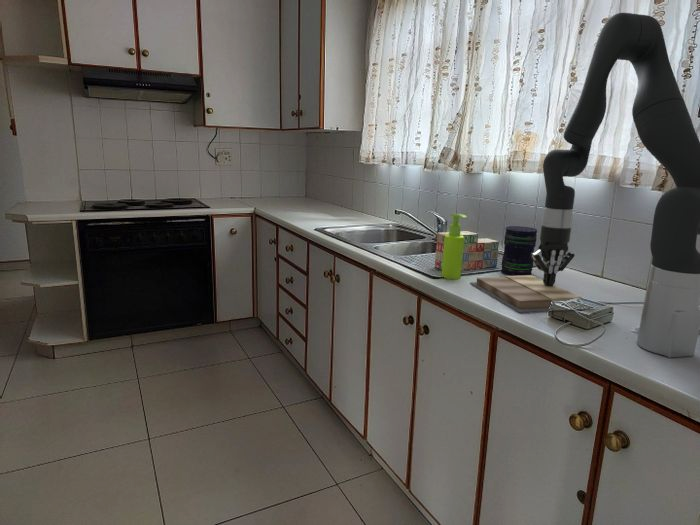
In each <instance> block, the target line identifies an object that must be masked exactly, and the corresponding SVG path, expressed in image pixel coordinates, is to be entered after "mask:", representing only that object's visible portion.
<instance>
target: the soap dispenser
mask: <svg viewBox="0 0 700 525" xmlns="http://www.w3.org/2000/svg"><path fill="white" fill-rule="evenodd" d="M450 217H452V222H451V223H450V224H449V230H448V232H449V234H448V235H445V239H444V251H443V264H442V270H441V278H443V277H444V279H447V280H460V279H461V275H462V270H461V266H462V255H463V244H464V236H461V235H460V231H462V230H461V229H462V225H461V224H460V223H459V220H460V219H467V218H468V216H467V215H466V214H463V213H462V214H461V213H451V214H450Z"/></svg>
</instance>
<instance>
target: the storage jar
mask: <svg viewBox="0 0 700 525" xmlns="http://www.w3.org/2000/svg"><path fill="white" fill-rule="evenodd" d="M537 233H538V229H537V228H534V227H528V226H519V225H517V226H516V225H510V226H506V227H505V233H504V241H503V242H504V243H503V244H504V250H503V255H502V258H501V270H500V272H501V274H503V275H505V276H523V275H532V274H533V273H532V271H533V268H534V261H533V259H532V258H531V256H530V254H531V253H535V248H536V246H537V244H536V243H537ZM532 276H533V275H532Z"/></svg>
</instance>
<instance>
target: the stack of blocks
mask: <svg viewBox="0 0 700 525" xmlns="http://www.w3.org/2000/svg"><path fill="white" fill-rule="evenodd" d="M448 234H449V231H445V232H443V231H442V232H441V231H440V232H437V233H436V243H435V259H434V260H435V261H434V268H435V267H436V269H438V268H439V269H438V270H440V269H441V270H440V271H442V264H443V251H444V239H445V235H448ZM460 235H461V236H464V244H463V255H462V266H461V271H465V270H464V269H470V270H474V269H473V268H481V269H485V268H484V267H493V268H497V267H498V266H497V264H498V259H499V258H498V256H499V245H500V244H499V243H500V241H498V240H494V239H491V238H479V233H476V232H472V231H467V230H461V231H460Z"/></svg>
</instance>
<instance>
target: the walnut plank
mask: <svg viewBox="0 0 700 525" xmlns="http://www.w3.org/2000/svg"><path fill="white" fill-rule="evenodd" d="M476 282H477V283H476V284H477V285H479V286H480V287H482V288H484V289H486V290H487V291H489V292H491V293H492V294H494V295H496V296H498V297H499V298H501V299H503V300H505V301H506V302H508V303H510V304H512V305H513V306H515V307H517V308H519V309H522V308H541V307H550V303H551V299H549V298H547V297H545V296H543V295H541V294H539V293H537V292H534V291H532V290H530V289H528V288H526V287H524V286H522V285H520V284H518V283H516V282H514V281H512V280H510V279H508V278H506V277H505V276H489V277H488V276H487V277H485V276H483V277H476Z"/></svg>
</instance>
